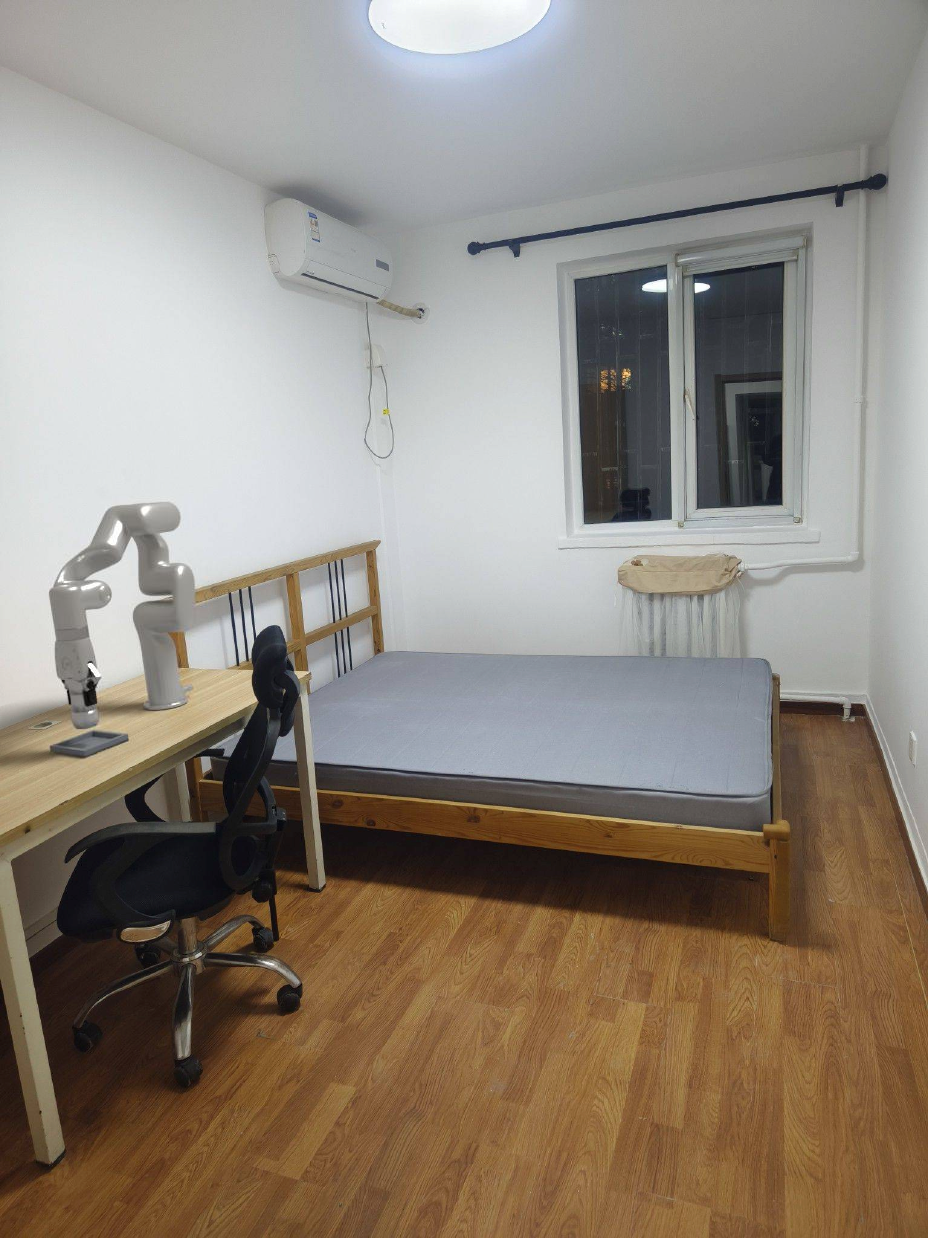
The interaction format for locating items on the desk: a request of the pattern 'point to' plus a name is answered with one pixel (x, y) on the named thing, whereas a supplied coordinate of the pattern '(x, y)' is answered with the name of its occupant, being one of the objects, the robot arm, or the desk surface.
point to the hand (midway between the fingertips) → (83, 703)
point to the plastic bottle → (80, 705)
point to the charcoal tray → (89, 743)
